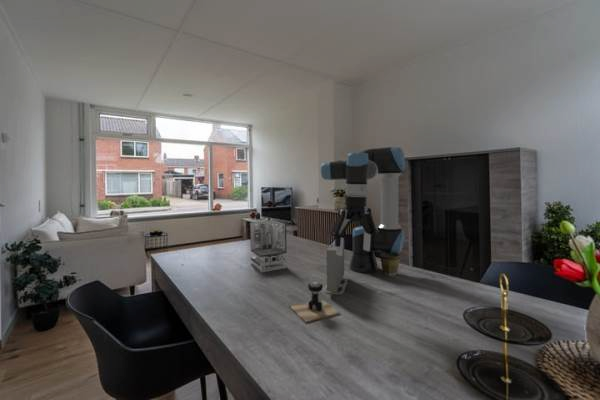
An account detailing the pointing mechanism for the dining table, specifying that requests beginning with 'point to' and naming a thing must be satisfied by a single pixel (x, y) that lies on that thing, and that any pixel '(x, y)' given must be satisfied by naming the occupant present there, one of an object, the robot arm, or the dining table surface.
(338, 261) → the network device
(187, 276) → the dining table surface
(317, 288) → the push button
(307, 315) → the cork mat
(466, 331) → the dining table surface
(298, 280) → the dining table surface
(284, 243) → the analytical balance
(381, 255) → the ceramic cup
